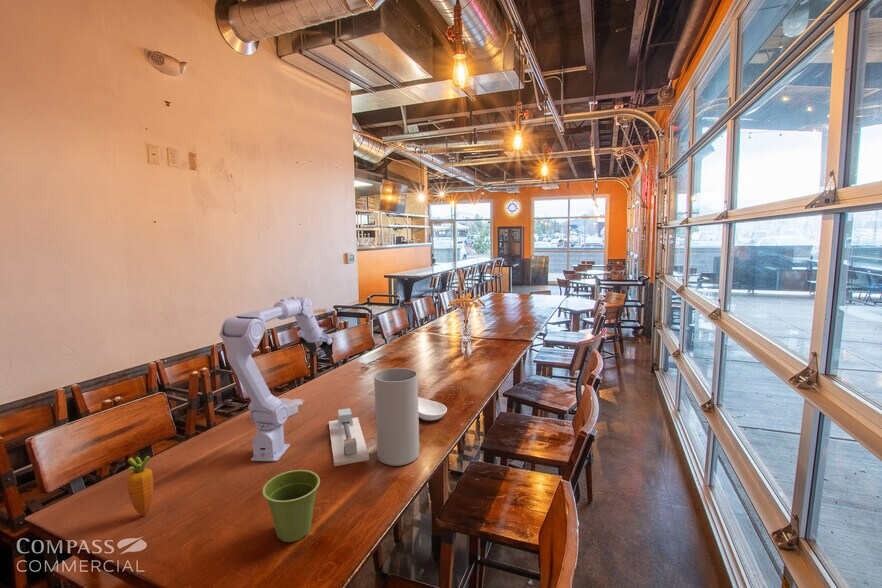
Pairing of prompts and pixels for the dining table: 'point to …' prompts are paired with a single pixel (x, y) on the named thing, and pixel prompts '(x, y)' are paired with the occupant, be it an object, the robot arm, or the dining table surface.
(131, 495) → the carrot
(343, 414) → the light grey sliding block
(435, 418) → the spoon rest
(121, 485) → the dining table surface
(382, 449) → the cylinder vase
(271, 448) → the robot arm
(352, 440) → the white slide rail base
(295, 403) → the charger
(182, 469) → the dining table surface
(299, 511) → the plant pot
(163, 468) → the dining table surface
